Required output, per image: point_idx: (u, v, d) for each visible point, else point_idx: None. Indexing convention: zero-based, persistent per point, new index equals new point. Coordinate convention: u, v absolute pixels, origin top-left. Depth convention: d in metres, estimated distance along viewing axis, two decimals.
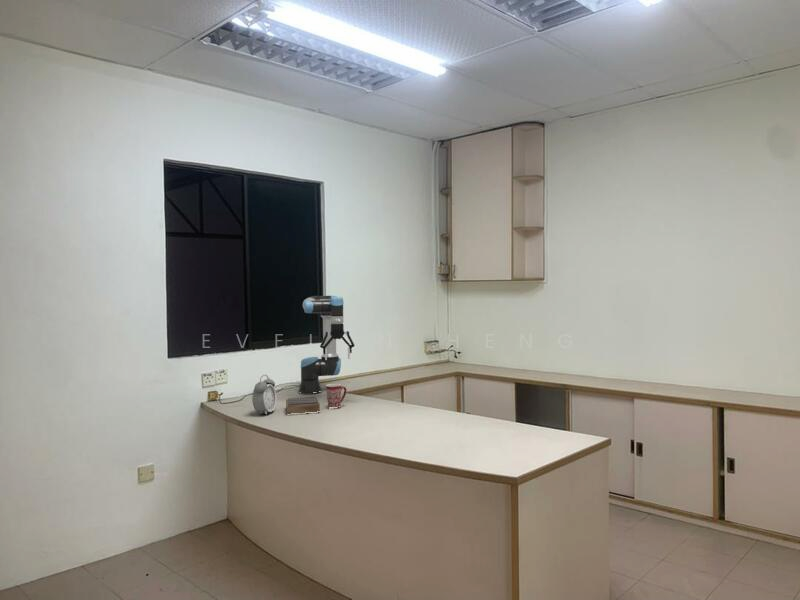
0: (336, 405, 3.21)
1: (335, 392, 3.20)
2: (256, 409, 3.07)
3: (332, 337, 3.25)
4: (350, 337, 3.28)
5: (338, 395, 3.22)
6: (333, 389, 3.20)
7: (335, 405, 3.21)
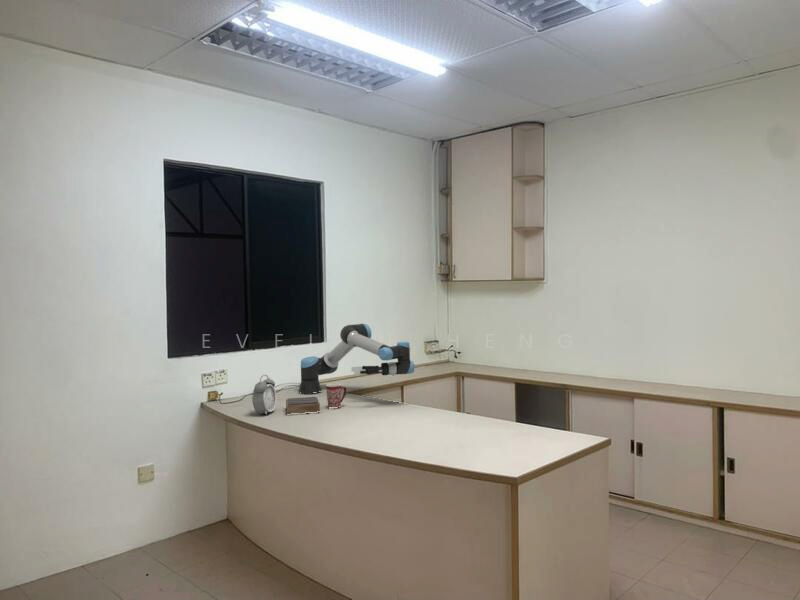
0: (336, 405, 3.21)
1: (335, 392, 3.20)
2: (256, 409, 3.07)
3: None
4: None
5: (338, 395, 3.22)
6: (333, 389, 3.20)
7: (335, 405, 3.21)
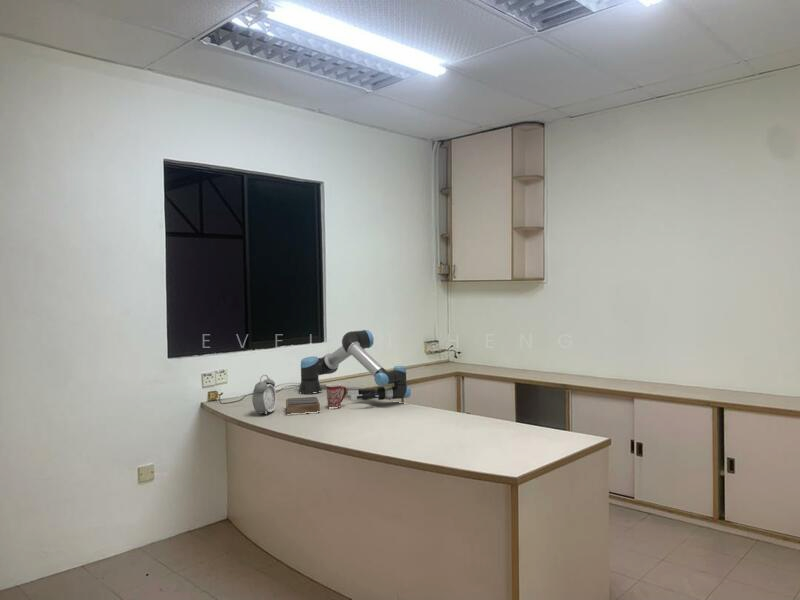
0: (336, 405, 3.21)
1: (335, 392, 3.20)
2: (256, 409, 3.07)
3: None
4: None
5: (338, 395, 3.22)
6: (333, 389, 3.20)
7: (335, 405, 3.21)
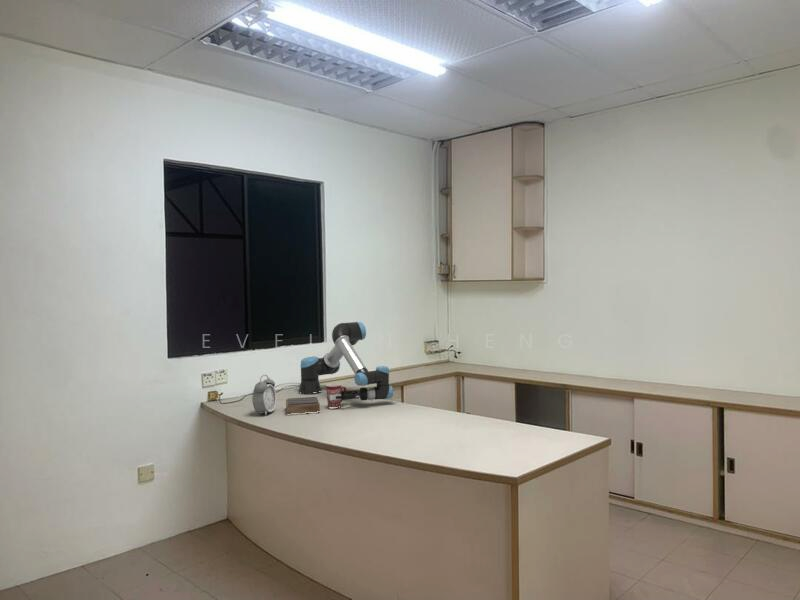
0: (336, 405, 3.21)
1: (335, 392, 3.20)
2: (256, 409, 3.07)
3: None
4: None
5: None
6: (333, 389, 3.20)
7: (335, 405, 3.21)
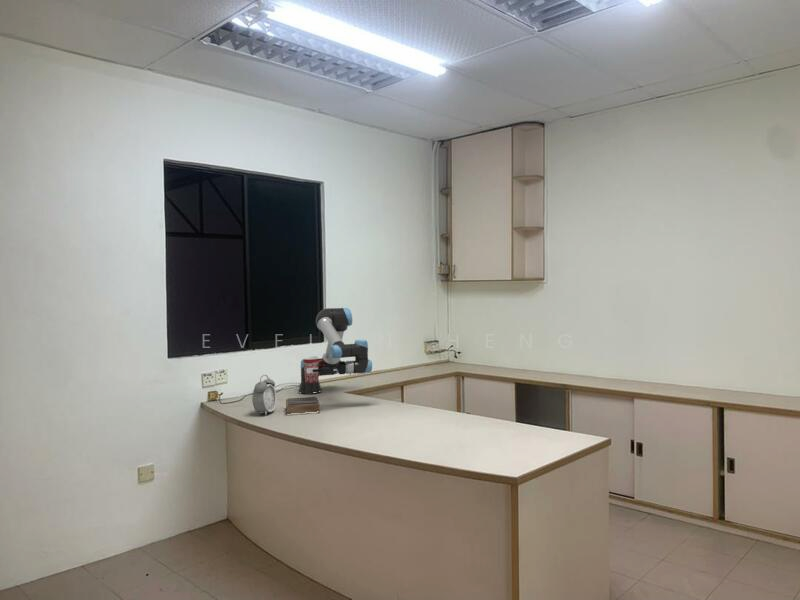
0: (313, 378, 3.15)
1: (312, 365, 3.14)
2: (256, 409, 3.07)
3: None
4: None
5: None
6: (310, 362, 3.14)
7: (312, 378, 3.15)
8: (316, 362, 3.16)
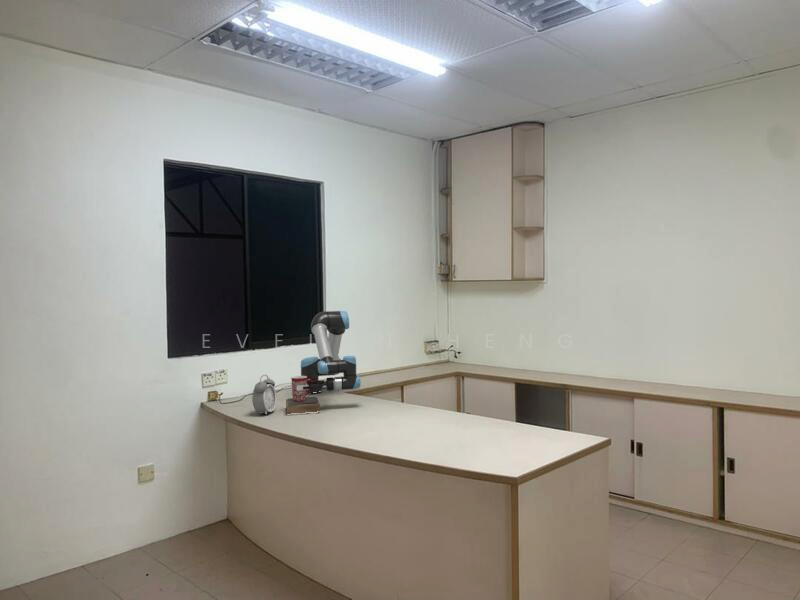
0: (301, 397, 3.14)
1: (300, 384, 3.13)
2: (256, 409, 3.07)
3: None
4: None
5: None
6: (298, 381, 3.13)
7: (299, 397, 3.14)
8: (304, 381, 3.15)
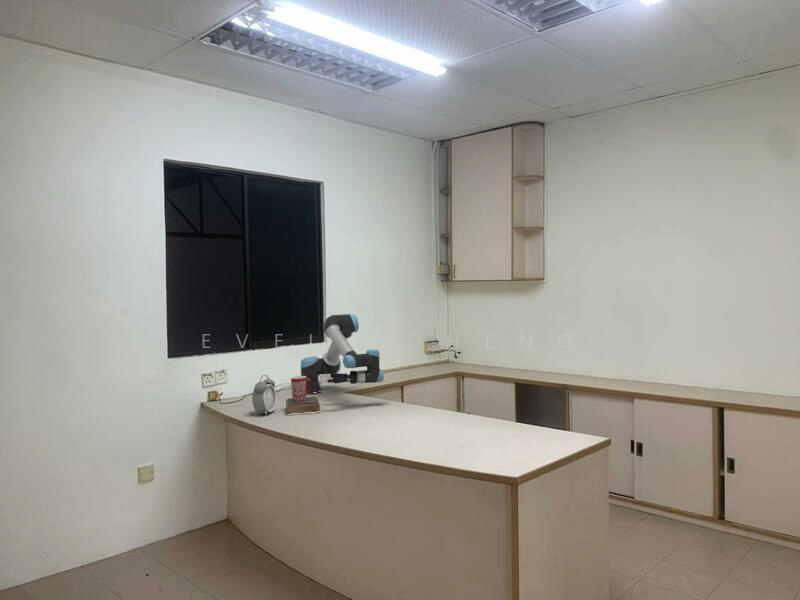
0: (300, 398, 3.14)
1: (299, 384, 3.13)
2: (256, 409, 3.07)
3: None
4: None
5: (303, 387, 3.14)
6: (297, 381, 3.13)
7: (299, 398, 3.14)
8: (303, 381, 3.15)
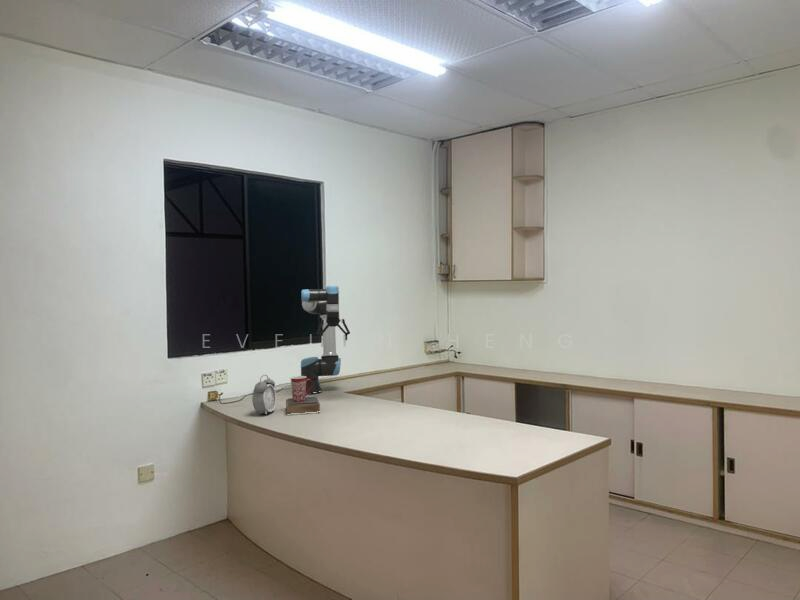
0: (300, 398, 3.14)
1: (299, 384, 3.13)
2: (256, 409, 3.07)
3: (328, 324, 3.33)
4: (345, 325, 3.36)
5: (303, 387, 3.14)
6: (297, 381, 3.13)
7: (299, 398, 3.14)
8: (303, 381, 3.15)
